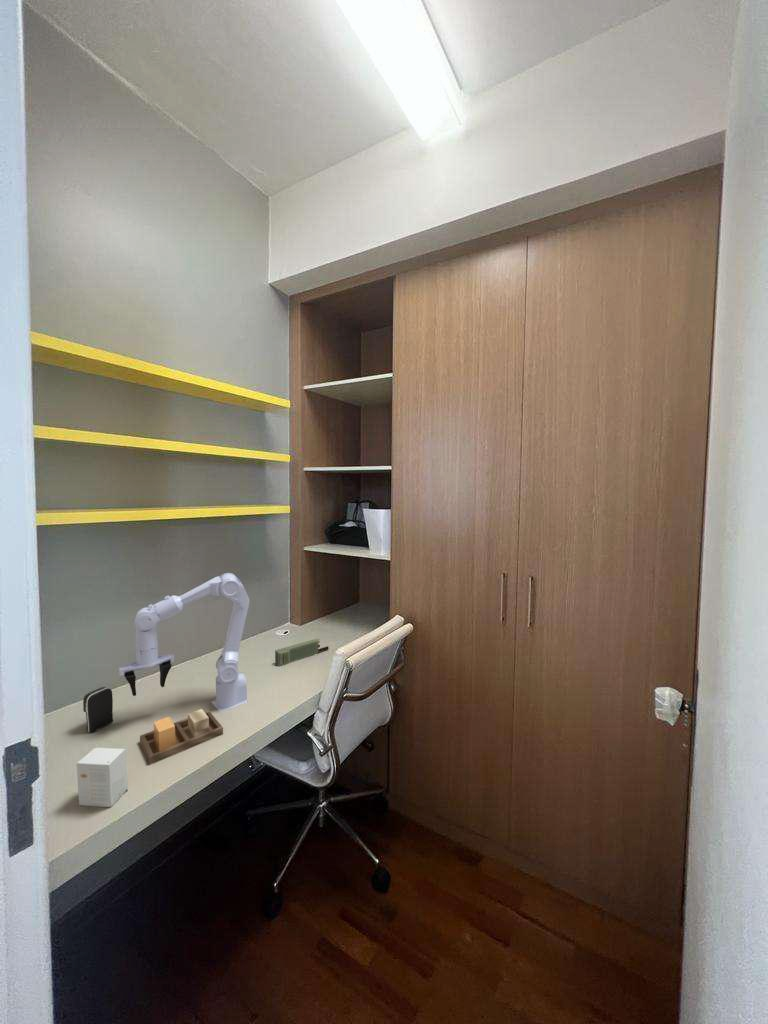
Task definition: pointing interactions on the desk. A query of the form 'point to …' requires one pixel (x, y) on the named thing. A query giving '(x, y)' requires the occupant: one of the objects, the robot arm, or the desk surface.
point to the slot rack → (179, 739)
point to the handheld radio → (297, 652)
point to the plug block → (164, 733)
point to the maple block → (198, 723)
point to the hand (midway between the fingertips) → (148, 690)
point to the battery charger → (98, 708)
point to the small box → (102, 777)
